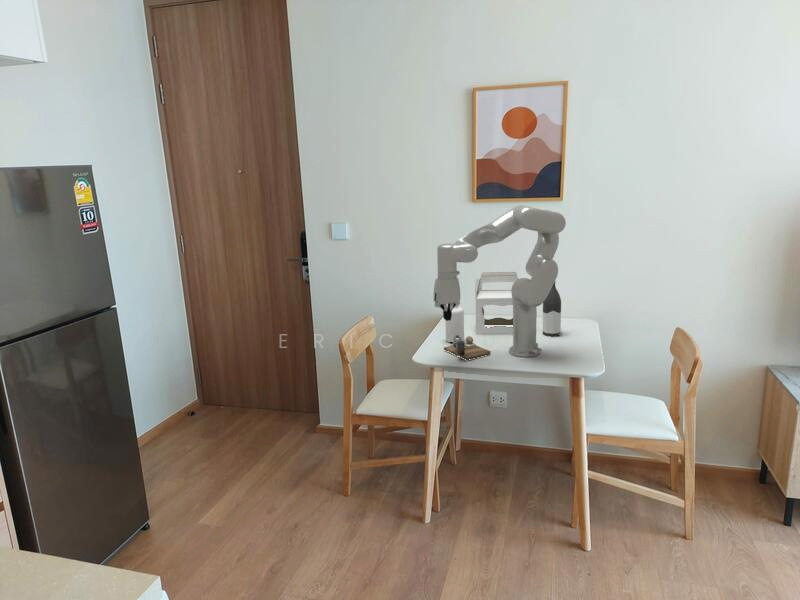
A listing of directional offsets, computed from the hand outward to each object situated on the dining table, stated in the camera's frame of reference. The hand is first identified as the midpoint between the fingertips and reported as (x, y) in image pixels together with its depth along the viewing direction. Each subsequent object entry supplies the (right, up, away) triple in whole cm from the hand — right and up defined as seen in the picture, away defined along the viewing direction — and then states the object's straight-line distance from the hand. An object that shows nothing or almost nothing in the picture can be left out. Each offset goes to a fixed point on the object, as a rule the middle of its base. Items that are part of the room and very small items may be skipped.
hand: (447, 319), depth 228 cm
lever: (+6, -13, +11) cm, 18 cm away
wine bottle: (+50, -8, +32) cm, 60 cm away
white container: (+6, -11, +29) cm, 31 cm away
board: (+9, -14, +13) cm, 22 cm away
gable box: (+28, -6, +41) cm, 51 cm away
